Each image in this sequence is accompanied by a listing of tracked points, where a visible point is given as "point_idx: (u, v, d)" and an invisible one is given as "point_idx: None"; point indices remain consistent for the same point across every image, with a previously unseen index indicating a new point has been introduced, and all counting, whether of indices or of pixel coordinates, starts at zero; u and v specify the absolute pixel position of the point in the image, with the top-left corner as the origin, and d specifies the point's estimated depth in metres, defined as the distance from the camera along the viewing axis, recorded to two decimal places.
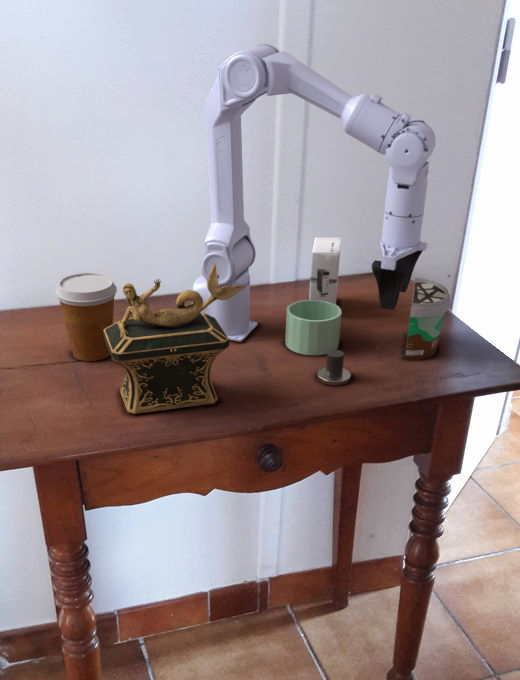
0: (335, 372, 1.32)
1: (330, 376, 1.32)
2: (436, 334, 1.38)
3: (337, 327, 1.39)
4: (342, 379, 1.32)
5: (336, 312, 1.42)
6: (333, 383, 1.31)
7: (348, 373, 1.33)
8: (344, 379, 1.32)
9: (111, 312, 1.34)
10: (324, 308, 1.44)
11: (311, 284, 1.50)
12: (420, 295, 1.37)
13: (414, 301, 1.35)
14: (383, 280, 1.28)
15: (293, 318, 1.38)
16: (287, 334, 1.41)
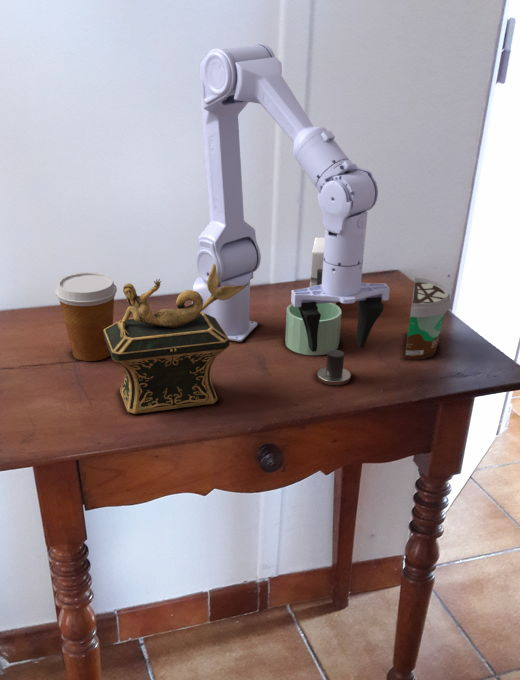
0: (335, 372, 1.32)
1: (330, 376, 1.32)
2: (436, 334, 1.38)
3: (337, 327, 1.39)
4: (342, 379, 1.32)
5: (336, 312, 1.42)
6: (333, 383, 1.31)
7: (348, 373, 1.33)
8: (344, 379, 1.32)
9: (111, 312, 1.34)
10: (324, 308, 1.44)
11: (311, 284, 1.50)
12: (420, 295, 1.37)
13: (414, 301, 1.35)
14: None
15: (293, 318, 1.38)
16: (287, 334, 1.41)
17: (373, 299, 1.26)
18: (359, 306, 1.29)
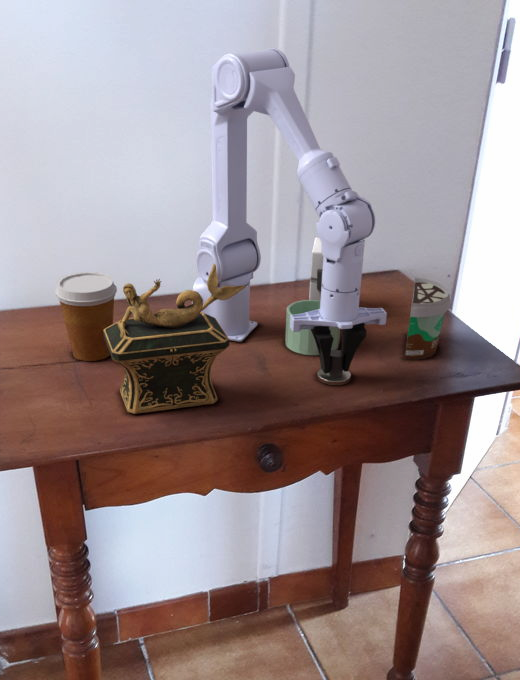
0: (335, 372, 1.32)
1: (331, 376, 1.32)
2: (436, 334, 1.38)
3: (337, 327, 1.39)
4: (342, 379, 1.32)
5: None
6: (333, 383, 1.31)
7: (348, 373, 1.33)
8: (344, 379, 1.32)
9: (111, 312, 1.34)
10: None
11: (311, 284, 1.50)
12: (420, 295, 1.37)
13: (414, 301, 1.35)
14: None
15: None
16: (287, 334, 1.41)
17: (356, 325, 1.28)
18: (343, 331, 1.31)
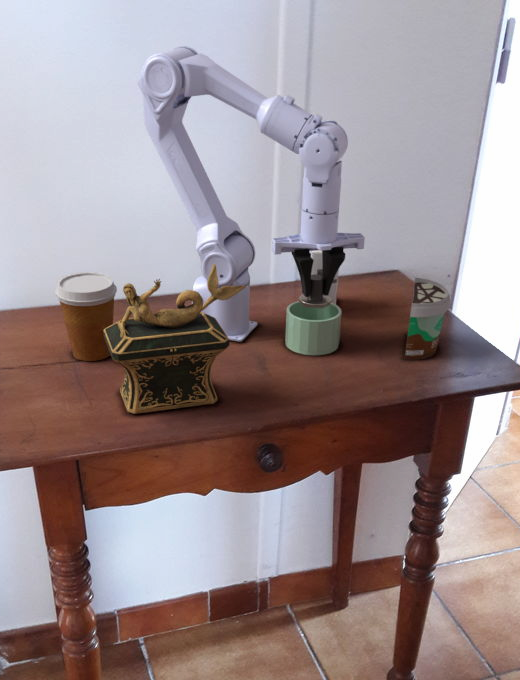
0: (316, 296, 1.37)
1: (312, 300, 1.38)
2: (436, 334, 1.38)
3: (337, 327, 1.39)
4: (323, 302, 1.37)
5: (336, 312, 1.42)
6: (314, 306, 1.37)
7: (329, 297, 1.39)
8: (324, 302, 1.37)
9: (111, 312, 1.34)
10: (324, 308, 1.44)
11: None
12: (420, 295, 1.37)
13: (414, 301, 1.35)
14: None
15: (293, 318, 1.38)
16: (287, 334, 1.41)
17: (336, 248, 1.34)
18: (323, 256, 1.37)
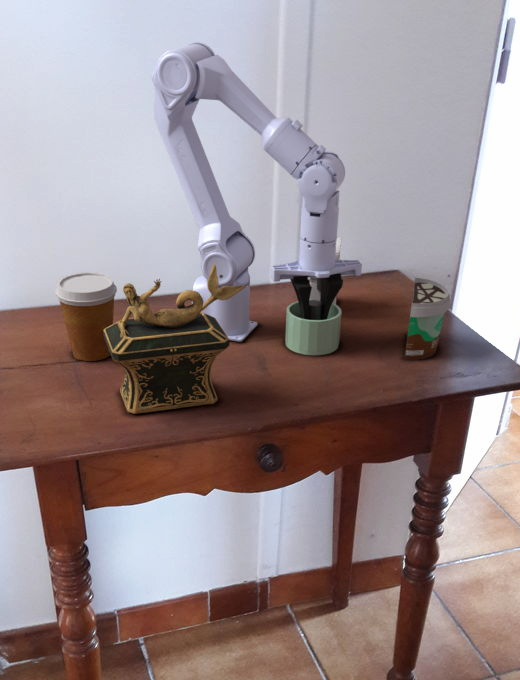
0: None
1: None
2: (436, 334, 1.38)
3: (337, 327, 1.39)
4: None
5: (336, 312, 1.42)
6: None
7: None
8: None
9: (111, 312, 1.34)
10: None
11: (311, 284, 1.50)
12: (420, 295, 1.37)
13: (414, 301, 1.35)
14: None
15: (293, 318, 1.38)
16: (287, 334, 1.41)
17: (333, 275, 1.37)
18: (321, 282, 1.39)
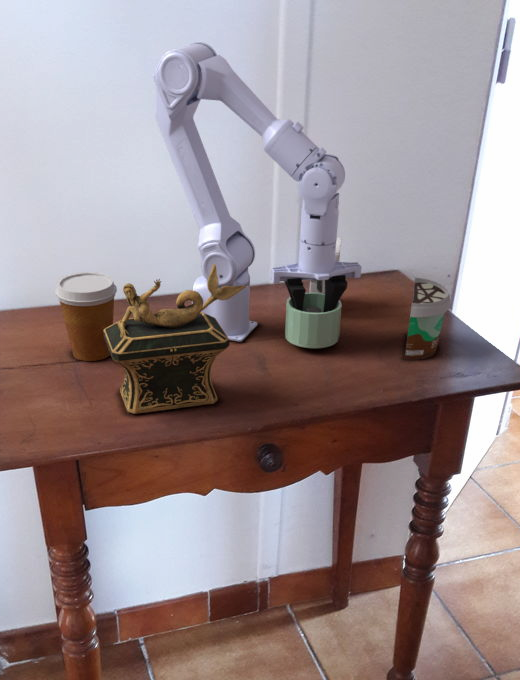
0: None
1: None
2: (436, 334, 1.38)
3: (337, 320, 1.39)
4: None
5: (336, 305, 1.41)
6: None
7: None
8: None
9: (111, 312, 1.34)
10: None
11: (311, 284, 1.50)
12: (420, 295, 1.37)
13: (414, 301, 1.35)
14: None
15: (293, 311, 1.37)
16: (287, 327, 1.40)
17: (338, 277, 1.37)
18: (325, 284, 1.40)
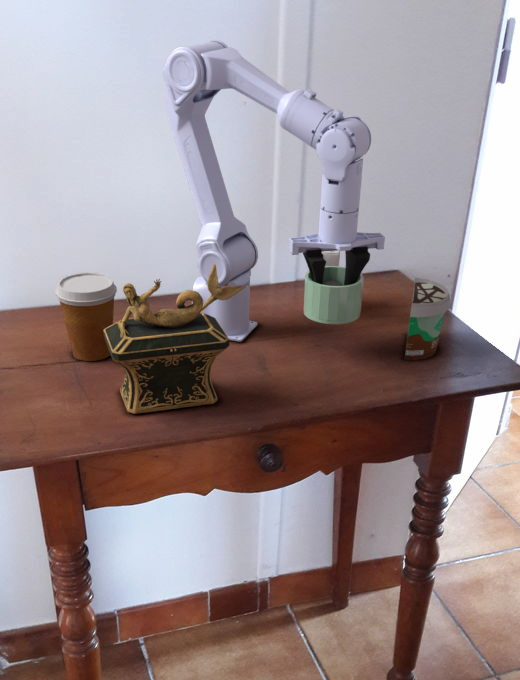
0: None
1: None
2: (436, 334, 1.38)
3: (359, 294, 1.31)
4: None
5: (358, 279, 1.33)
6: None
7: None
8: None
9: (111, 312, 1.34)
10: None
11: None
12: (420, 295, 1.37)
13: (414, 301, 1.35)
14: None
15: (312, 284, 1.30)
16: (306, 302, 1.33)
17: (360, 248, 1.29)
18: (346, 256, 1.32)
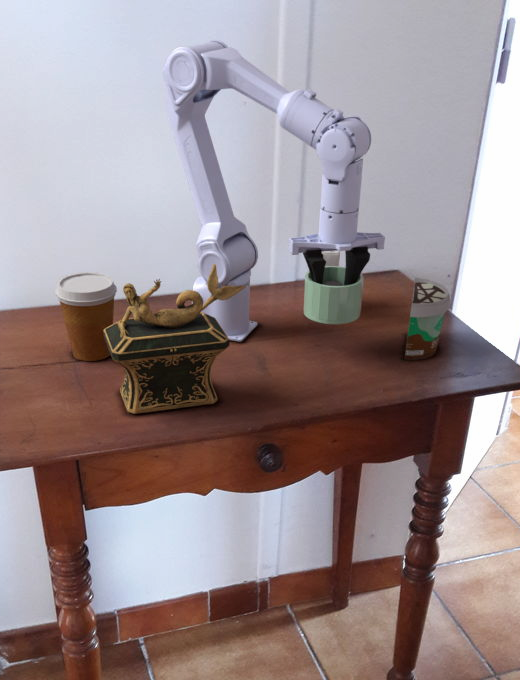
0: None
1: None
2: (436, 334, 1.38)
3: (359, 294, 1.31)
4: None
5: (358, 279, 1.33)
6: None
7: None
8: None
9: (111, 312, 1.34)
10: None
11: None
12: (420, 295, 1.37)
13: (414, 301, 1.35)
14: None
15: (312, 284, 1.30)
16: (306, 302, 1.33)
17: (360, 248, 1.29)
18: (346, 256, 1.32)
